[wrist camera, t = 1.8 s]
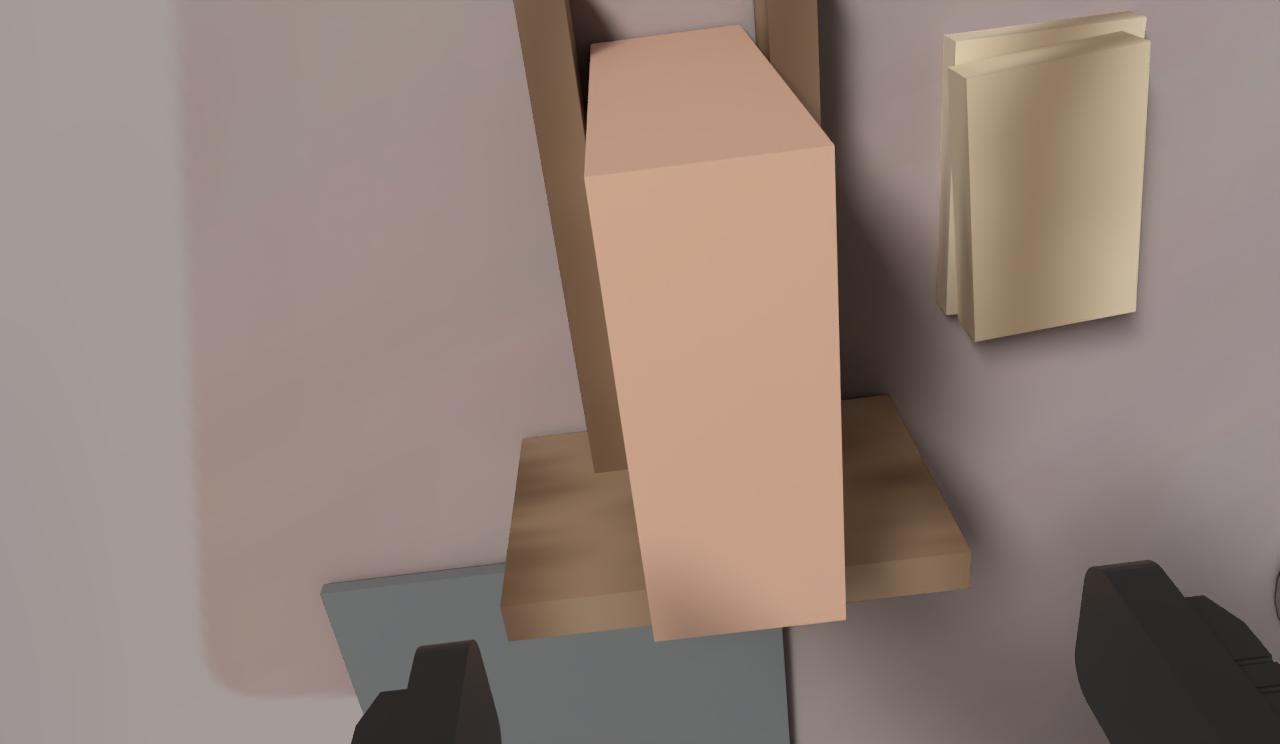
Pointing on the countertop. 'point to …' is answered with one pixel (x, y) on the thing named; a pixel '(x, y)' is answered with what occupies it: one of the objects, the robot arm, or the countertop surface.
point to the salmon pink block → (720, 328)
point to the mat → (565, 666)
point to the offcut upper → (1048, 183)
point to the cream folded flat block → (989, 46)
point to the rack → (596, 459)
